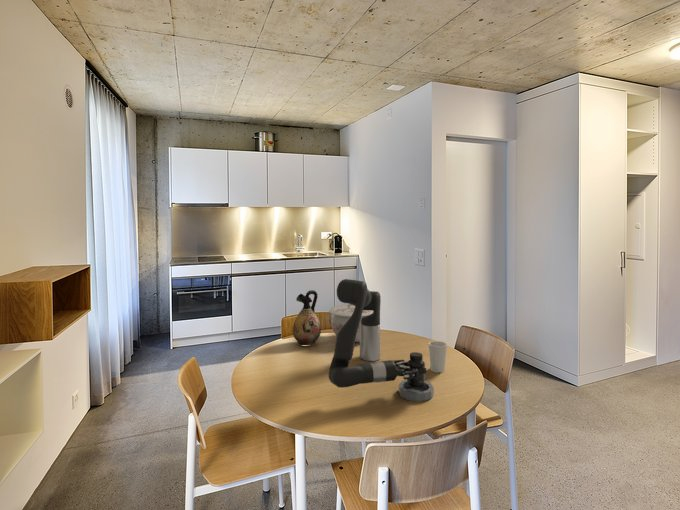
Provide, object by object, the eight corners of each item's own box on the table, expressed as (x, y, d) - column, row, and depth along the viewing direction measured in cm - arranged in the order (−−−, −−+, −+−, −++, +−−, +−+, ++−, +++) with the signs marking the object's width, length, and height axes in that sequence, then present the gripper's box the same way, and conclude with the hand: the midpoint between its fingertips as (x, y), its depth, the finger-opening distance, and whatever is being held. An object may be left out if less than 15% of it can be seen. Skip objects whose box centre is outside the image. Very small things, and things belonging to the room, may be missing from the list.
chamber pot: (382, 345, 213) (382, 307, 211) (333, 348, 209) (332, 310, 207) (370, 330, 241) (370, 297, 239) (326, 333, 236) (325, 299, 234)
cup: (447, 373, 173) (447, 347, 171) (428, 372, 174) (428, 346, 173) (446, 367, 180) (446, 341, 179) (428, 366, 182) (428, 340, 181)
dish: (394, 397, 151) (394, 389, 150) (405, 384, 162) (405, 377, 162) (427, 404, 144) (427, 396, 144) (436, 390, 156) (437, 383, 156)
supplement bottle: (403, 381, 155) (403, 352, 154) (418, 379, 157) (419, 350, 156) (412, 388, 148) (412, 357, 147) (428, 386, 151) (428, 355, 150)
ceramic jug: (300, 350, 206) (299, 294, 203) (288, 343, 219) (287, 290, 216) (328, 344, 215) (327, 290, 212) (315, 337, 228) (314, 286, 225)
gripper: (389, 368, 141) (430, 363, 146) (374, 355, 155) (412, 351, 159) (389, 388, 142) (430, 383, 146) (374, 374, 155) (412, 369, 160)
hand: (421, 366), depth 153 cm, fingers closed on supplement bottle, 7 cm apart
